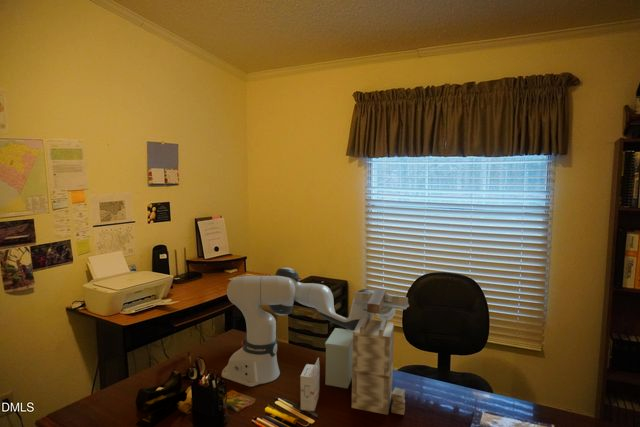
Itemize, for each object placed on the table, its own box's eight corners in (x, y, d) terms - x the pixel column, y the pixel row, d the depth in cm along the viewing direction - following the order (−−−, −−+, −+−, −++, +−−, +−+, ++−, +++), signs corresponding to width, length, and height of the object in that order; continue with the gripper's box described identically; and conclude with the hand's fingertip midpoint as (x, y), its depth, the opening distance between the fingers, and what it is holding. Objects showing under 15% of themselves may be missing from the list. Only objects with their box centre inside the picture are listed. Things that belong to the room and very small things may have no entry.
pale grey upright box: (324, 384, 135) (325, 343, 134) (334, 365, 149) (335, 327, 148) (348, 389, 132) (348, 346, 131) (356, 369, 147) (357, 330, 145)
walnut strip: (367, 312, 120) (367, 303, 120) (375, 296, 138) (375, 288, 137) (379, 313, 119) (379, 304, 119) (385, 297, 136) (386, 289, 136)
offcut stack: (391, 412, 119) (391, 395, 118) (392, 403, 124) (393, 386, 123) (404, 415, 118) (405, 397, 117) (405, 406, 123) (406, 389, 122)
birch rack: (351, 407, 121) (353, 326, 119) (358, 387, 134) (360, 313, 131) (387, 414, 118) (390, 331, 116) (391, 392, 130) (394, 316, 128)
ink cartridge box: (305, 395, 128) (306, 355, 127) (319, 397, 127) (320, 356, 126) (299, 410, 120) (299, 367, 119) (314, 412, 119) (314, 368, 118)
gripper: (408, 315, 140) (407, 307, 128) (356, 309, 146) (350, 301, 134) (409, 298, 143) (408, 289, 131) (358, 293, 148) (352, 284, 136)
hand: (378, 295), depth 132 cm, fingers closed on walnut strip, 4 cm apart
